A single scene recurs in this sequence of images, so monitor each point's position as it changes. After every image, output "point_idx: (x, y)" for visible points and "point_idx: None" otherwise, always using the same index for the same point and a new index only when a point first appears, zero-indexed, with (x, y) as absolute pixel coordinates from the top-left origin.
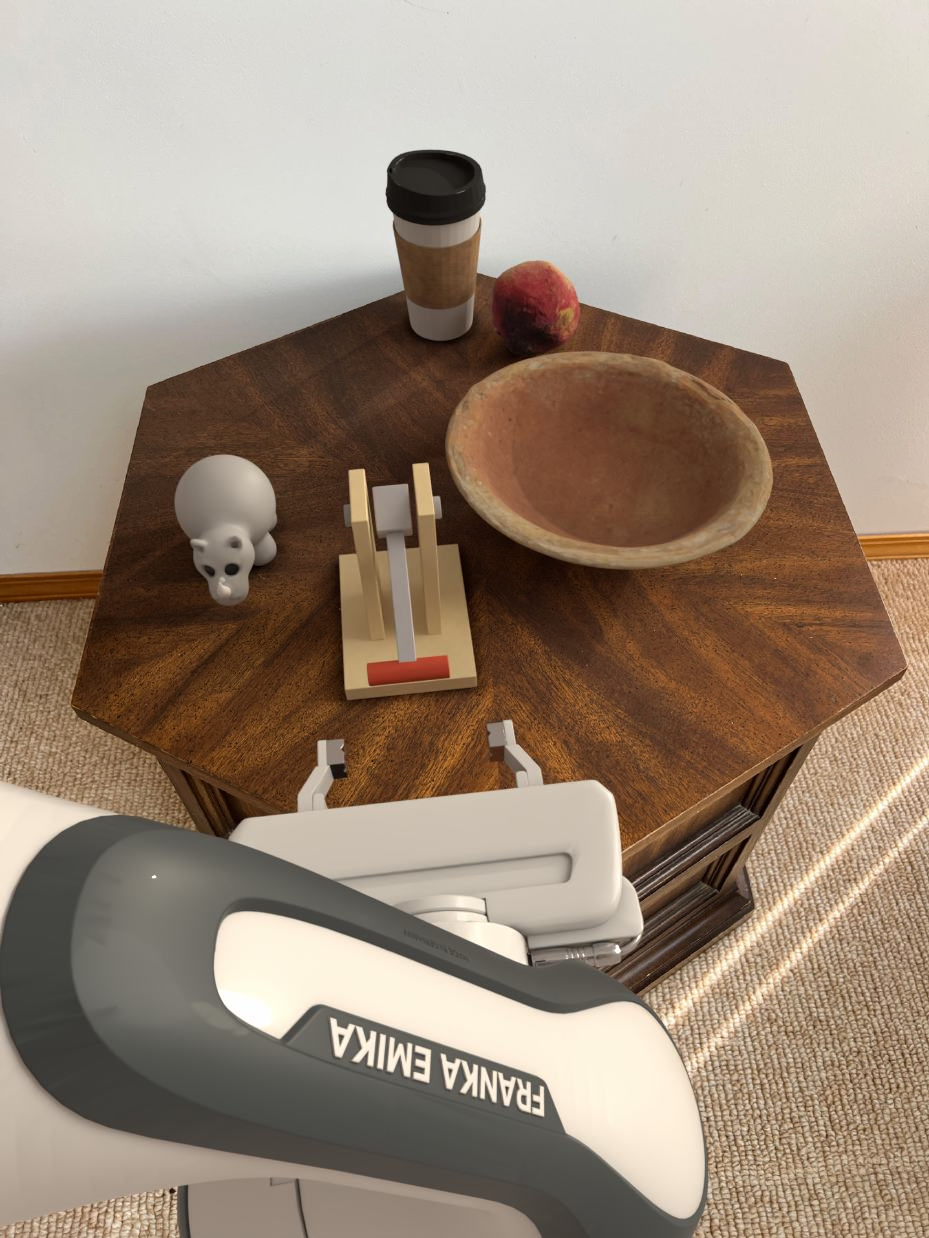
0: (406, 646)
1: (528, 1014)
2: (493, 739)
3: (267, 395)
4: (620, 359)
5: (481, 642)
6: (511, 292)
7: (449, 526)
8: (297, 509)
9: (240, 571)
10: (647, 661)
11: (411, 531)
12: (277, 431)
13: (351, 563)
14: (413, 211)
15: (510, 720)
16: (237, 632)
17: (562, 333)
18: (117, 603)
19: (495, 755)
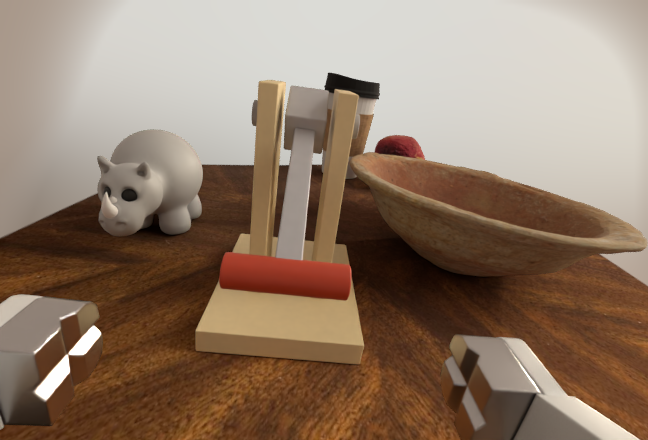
0: (291, 239)
1: None
2: (494, 371)
3: (227, 175)
4: (465, 168)
5: (364, 322)
6: (388, 142)
7: (337, 243)
8: (220, 215)
9: (137, 200)
10: (557, 373)
11: (323, 136)
12: (226, 186)
13: (249, 239)
14: (339, 87)
15: (517, 338)
16: (114, 271)
17: None
18: (21, 234)
19: (490, 430)
